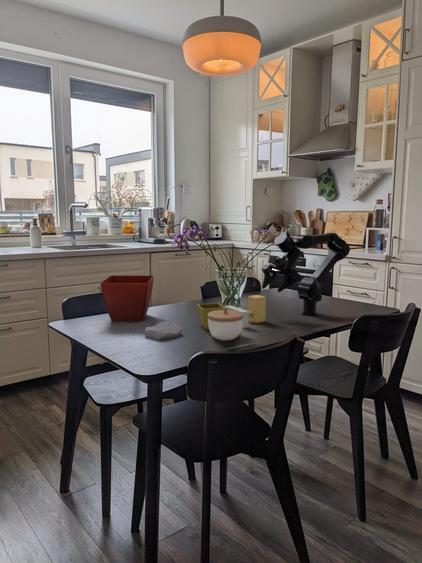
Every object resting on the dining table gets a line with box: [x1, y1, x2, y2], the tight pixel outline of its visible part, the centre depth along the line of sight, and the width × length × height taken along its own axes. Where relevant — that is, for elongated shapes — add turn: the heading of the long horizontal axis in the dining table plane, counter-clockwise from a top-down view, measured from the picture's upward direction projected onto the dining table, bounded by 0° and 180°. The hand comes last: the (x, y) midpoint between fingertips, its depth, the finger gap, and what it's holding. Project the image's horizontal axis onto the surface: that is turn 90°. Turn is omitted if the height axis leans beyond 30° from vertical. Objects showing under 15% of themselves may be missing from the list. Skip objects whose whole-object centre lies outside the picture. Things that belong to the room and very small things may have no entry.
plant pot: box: [100, 274, 154, 323], centre depth 184 cm, size 19×19×17 cm
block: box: [247, 294, 267, 324], centre depth 176 cm, size 8×5×10 cm, turn 122°
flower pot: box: [196, 302, 225, 330], centre depth 169 cm, size 9×9×9 cm
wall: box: [224, 305, 250, 329], centre depth 172 cm, size 3×12×6 cm, turn 32°
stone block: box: [144, 320, 183, 341], centre depth 161 cm, size 12×5×10 cm
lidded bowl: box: [208, 308, 243, 341], centre depth 156 cm, size 13×13×11 cm
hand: (270, 289), depth 178 cm, fingers open, 9 cm apart
